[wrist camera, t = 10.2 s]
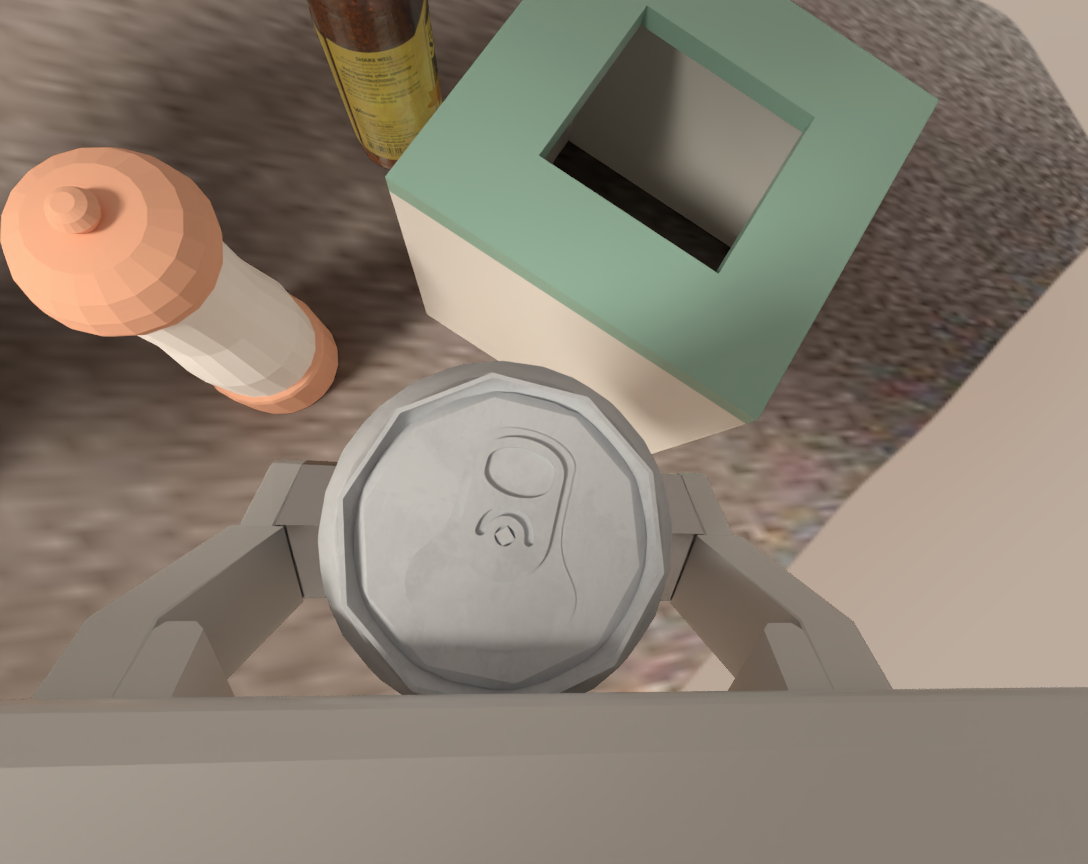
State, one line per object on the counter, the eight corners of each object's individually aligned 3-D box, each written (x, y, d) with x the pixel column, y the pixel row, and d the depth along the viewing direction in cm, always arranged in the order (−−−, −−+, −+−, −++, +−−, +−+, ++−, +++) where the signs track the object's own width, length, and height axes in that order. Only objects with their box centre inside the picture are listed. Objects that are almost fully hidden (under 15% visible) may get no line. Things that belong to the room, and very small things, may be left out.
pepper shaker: (326, 298, 37) (163, 83, 18) (349, 400, 36) (202, 287, 18) (214, 319, 36) (-80, 116, 17) (235, 425, 35) (-50, 334, 17)
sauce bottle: (463, 145, 40) (443, -206, 20) (395, 194, 39) (304, -126, 19) (405, 79, 40) (328, -332, 20) (336, 126, 39) (184, -259, 19)
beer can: (398, 573, 18) (235, 706, 6) (436, 431, 18) (358, 296, 7) (542, 605, 18) (659, 789, 6) (573, 464, 19) (731, 393, 7)
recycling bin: (644, 455, 38) (757, 420, 22) (426, 314, 38) (384, 176, 22) (765, 255, 41) (939, 99, 25) (564, 123, 41) (614, -118, 25)
